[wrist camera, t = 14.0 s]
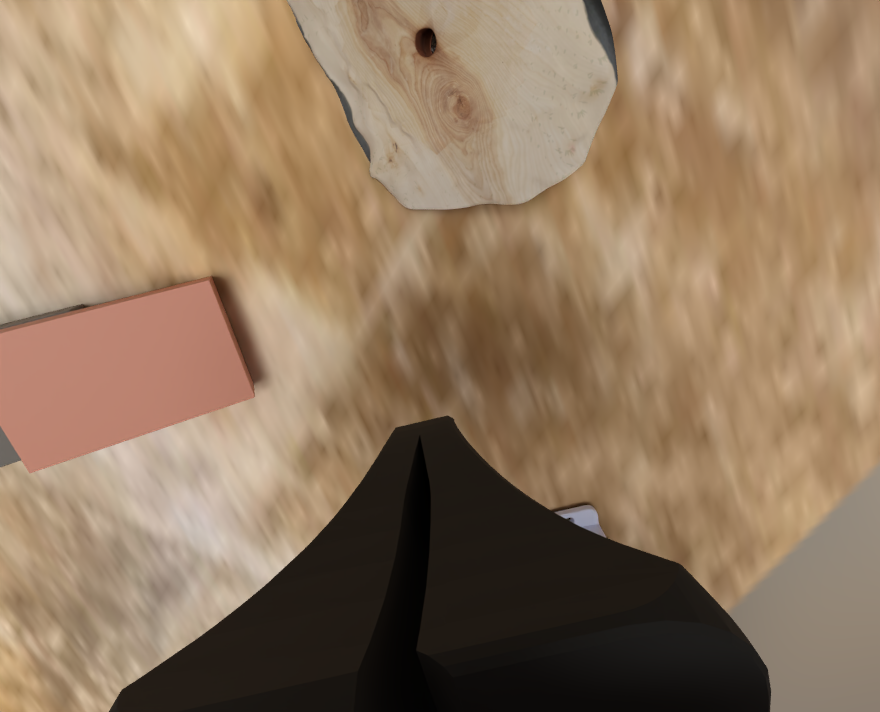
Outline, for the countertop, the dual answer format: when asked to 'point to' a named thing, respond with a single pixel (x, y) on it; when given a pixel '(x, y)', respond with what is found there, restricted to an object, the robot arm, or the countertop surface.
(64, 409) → the loose domino
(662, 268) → the countertop surface
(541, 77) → the wooden slab
